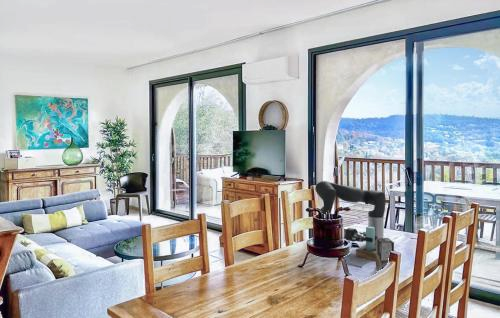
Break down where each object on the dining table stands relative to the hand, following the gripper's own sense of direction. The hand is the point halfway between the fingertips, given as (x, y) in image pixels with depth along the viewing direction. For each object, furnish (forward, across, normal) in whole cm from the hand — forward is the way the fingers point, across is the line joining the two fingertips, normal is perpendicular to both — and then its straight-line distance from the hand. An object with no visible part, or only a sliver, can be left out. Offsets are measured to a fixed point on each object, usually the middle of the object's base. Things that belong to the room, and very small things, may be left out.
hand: (374, 239), depth 221 cm
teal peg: (-3, 0, -9) cm, 9 cm away
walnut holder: (-2, 0, -10) cm, 10 cm away
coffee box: (+15, +18, -10) cm, 25 cm away
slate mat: (-2, +15, -10) cm, 18 cm away
